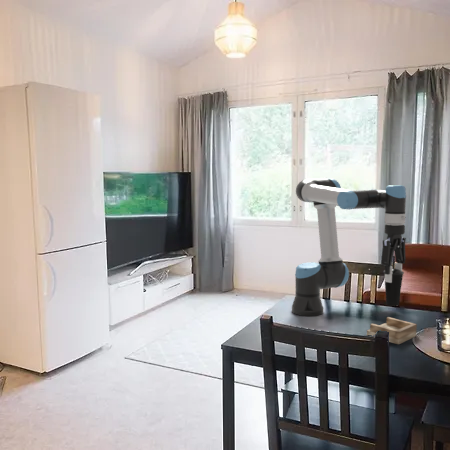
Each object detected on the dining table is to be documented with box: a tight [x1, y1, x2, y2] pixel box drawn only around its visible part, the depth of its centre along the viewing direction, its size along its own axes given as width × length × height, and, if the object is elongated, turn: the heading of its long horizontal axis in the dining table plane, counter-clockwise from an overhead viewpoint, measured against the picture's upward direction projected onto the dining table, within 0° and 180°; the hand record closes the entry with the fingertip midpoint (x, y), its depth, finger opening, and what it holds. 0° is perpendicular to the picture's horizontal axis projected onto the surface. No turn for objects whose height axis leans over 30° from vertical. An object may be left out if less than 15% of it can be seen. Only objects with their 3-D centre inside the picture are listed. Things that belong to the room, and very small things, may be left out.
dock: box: [366, 316, 418, 345], centre depth 185 cm, size 14×14×5 cm
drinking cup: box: [383, 255, 405, 307], centre depth 183 cm, size 8×8×20 cm
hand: (393, 280), depth 183 cm, fingers closed on drinking cup, 7 cm apart
